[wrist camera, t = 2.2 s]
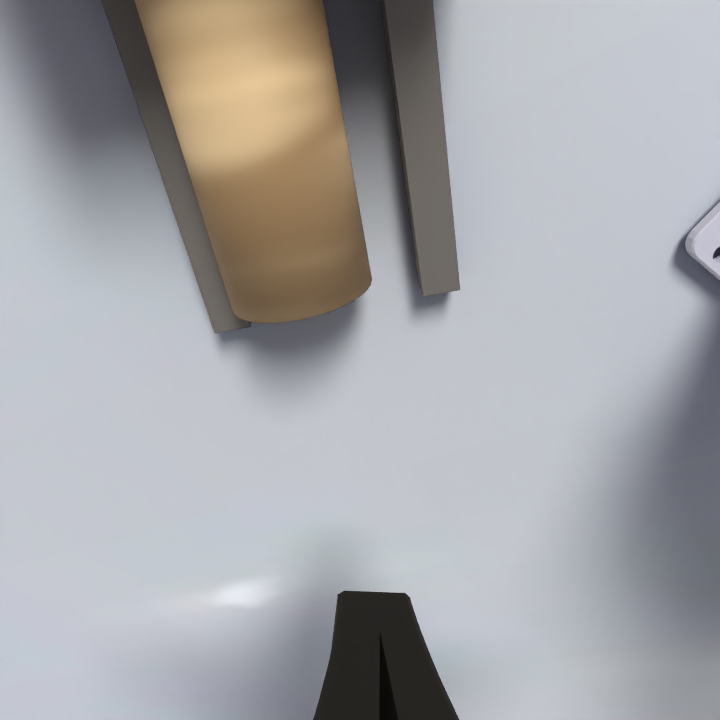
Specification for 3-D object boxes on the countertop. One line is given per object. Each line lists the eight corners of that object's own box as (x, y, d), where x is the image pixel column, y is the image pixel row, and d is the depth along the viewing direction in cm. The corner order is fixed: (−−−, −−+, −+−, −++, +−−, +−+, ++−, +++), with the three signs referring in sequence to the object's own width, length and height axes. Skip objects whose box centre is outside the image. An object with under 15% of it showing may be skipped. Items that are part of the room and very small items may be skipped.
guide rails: (453, 277, 16) (460, 289, 15) (221, 318, 16) (214, 333, 15) (416, -94, 12) (422, -108, 11) (108, -27, 12) (90, -34, 11)
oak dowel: (389, 262, 15) (339, 323, 12) (274, 267, 16) (203, 323, 13) (339, -60, 11) (251, -83, 8) (199, -18, 13) (83, -26, 10)
